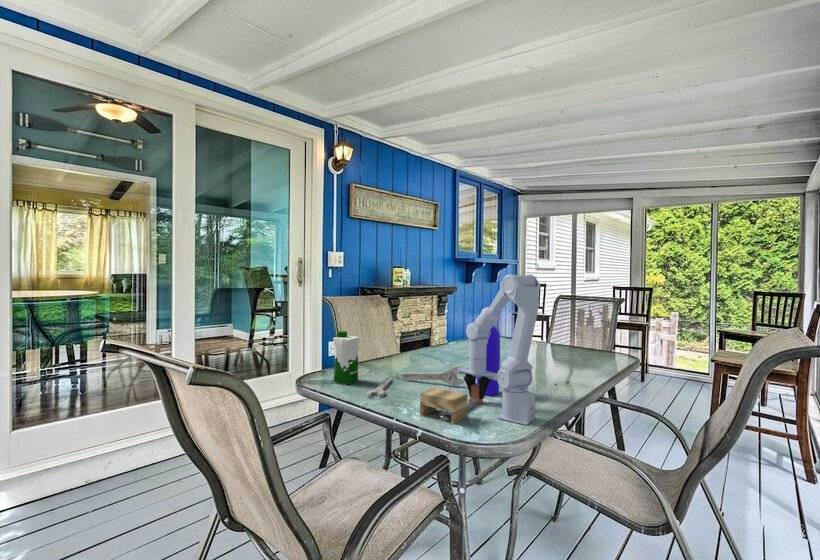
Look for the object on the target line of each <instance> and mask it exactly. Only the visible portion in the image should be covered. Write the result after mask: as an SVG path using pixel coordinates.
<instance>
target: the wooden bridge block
mask: <svg viewBox="0 0 820 560" xmlns="http://www.w3.org/2000/svg"><path fill="white" fill-rule="evenodd" d="M419 399H420V400H419V402H420V403H419V416H420V417H425V416H427V415H428V414H431V413H432V412H435V411H437V409H439V410H442V411H445V412H450V413H451V422H450V424H451V425H455V424H457V423H459V422H461V421H462V420H464V419H466V418H468V417H467V415H468V410H467V400H468V394H467V393H464V392H463V393H462V392H458V391H453V390H449V389H443V388H438V387H432V388H430V389H428V390H425V391H421V392H420V393H419Z"/></svg>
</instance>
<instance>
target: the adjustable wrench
mask: <svg viewBox="0 0 820 560" xmlns="http://www.w3.org/2000/svg"><path fill="white" fill-rule="evenodd" d="M392 380H393V379H392V378H391V377H386V378H384V379H383V381H381V383H380V384H379V385H377V387H376V388H373V389H371V390H367V391H366V393H365V397H366V398H368V399H372V397H373V396H377V397H378V398H379V399H380V397H381V398H384V397H385V395H387V391H386V390H385V389H386V388H387V387H388V386H389V385H390V384H391V383H392V382H393V381H392ZM391 381H392V382H391ZM390 382H391V383H390ZM389 383H390V384H389ZM372 395H373V396H372Z"/></svg>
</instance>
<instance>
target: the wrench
mask: <svg viewBox="0 0 820 560" xmlns="http://www.w3.org/2000/svg"><path fill="white" fill-rule="evenodd" d="M458 368H464V366H461V365H455V366H453V367H451V368H449V369H447V370H445V371H441V372H399V373H398V372H397V374H396V375H395V379H396V380H397V381H400V379H401V380H402V381H401V382H403V381H405V382H407V381H442V382H444V383H446V384H448V386H449V387H451V388H453V387H454V386H460V385H462V384H464V383H465V380H464V379H462V378H458V374H457V371H458ZM399 375H400V377H401V378H399Z"/></svg>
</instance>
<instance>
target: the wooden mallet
mask: <svg viewBox="0 0 820 560" xmlns="http://www.w3.org/2000/svg"><path fill="white" fill-rule="evenodd" d="M479 391H480V390H479V383H477V382H475V383H474V384H472V385H471V397H470V398H469V399H467V411H468V410H470V409H472V408H474V407H475V406H477V405H480V404H481V403H483V402H484V398H483V399H480V398H479Z"/></svg>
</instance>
